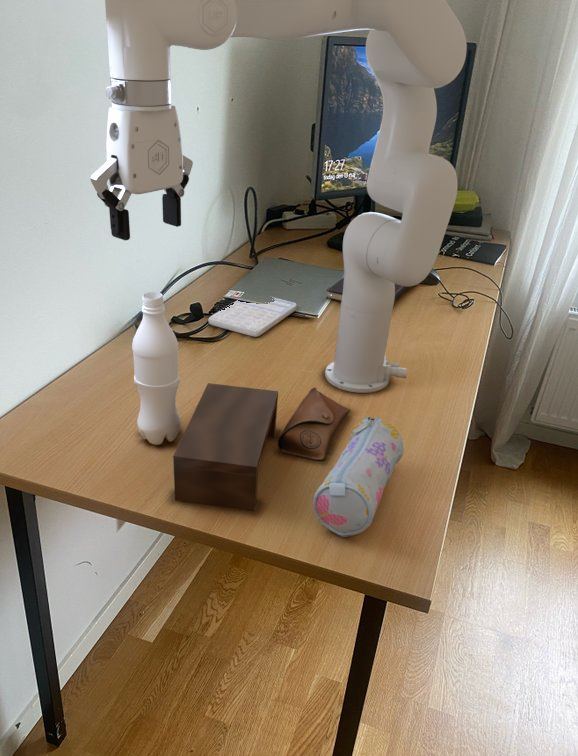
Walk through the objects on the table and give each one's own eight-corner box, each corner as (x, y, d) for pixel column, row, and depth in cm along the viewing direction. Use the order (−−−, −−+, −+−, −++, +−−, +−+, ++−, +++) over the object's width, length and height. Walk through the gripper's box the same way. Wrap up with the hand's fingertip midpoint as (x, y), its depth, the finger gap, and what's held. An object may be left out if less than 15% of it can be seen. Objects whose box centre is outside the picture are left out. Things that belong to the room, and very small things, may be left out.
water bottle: (147, 452, 108) (138, 307, 94) (132, 430, 113) (121, 290, 99) (187, 442, 111) (184, 300, 97) (171, 421, 116) (166, 284, 102)
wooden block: (275, 431, 114) (278, 391, 110) (254, 511, 96) (256, 466, 92) (207, 423, 116) (207, 383, 111) (174, 500, 98) (173, 456, 94)
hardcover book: (325, 298, 166) (326, 289, 164) (359, 272, 182) (360, 264, 181) (386, 312, 159) (388, 303, 158) (415, 284, 176) (417, 275, 175)
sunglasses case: (326, 460, 107) (309, 426, 104) (289, 469, 110) (271, 436, 108) (352, 408, 121) (337, 376, 118) (318, 418, 124) (303, 387, 122)
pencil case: (349, 455, 109) (356, 405, 104) (401, 469, 106) (411, 419, 101) (306, 531, 93) (312, 477, 88) (366, 550, 90) (376, 495, 85)
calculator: (206, 324, 151) (206, 316, 150) (250, 297, 165) (250, 290, 164) (257, 338, 145) (257, 330, 144) (298, 309, 159) (298, 302, 158)
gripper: (107, 102, 76) (117, 250, 86) (209, 93, 87) (208, 225, 97) (67, 95, 80) (81, 237, 90) (169, 87, 91) (172, 214, 101)
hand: (147, 231), depth 94 cm, fingers open, 9 cm apart
